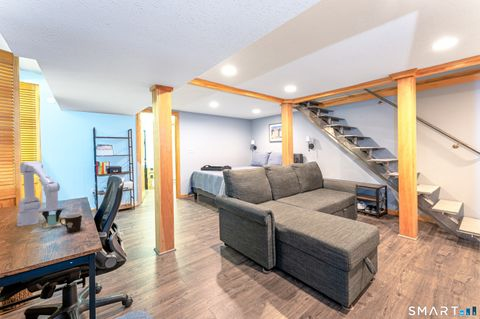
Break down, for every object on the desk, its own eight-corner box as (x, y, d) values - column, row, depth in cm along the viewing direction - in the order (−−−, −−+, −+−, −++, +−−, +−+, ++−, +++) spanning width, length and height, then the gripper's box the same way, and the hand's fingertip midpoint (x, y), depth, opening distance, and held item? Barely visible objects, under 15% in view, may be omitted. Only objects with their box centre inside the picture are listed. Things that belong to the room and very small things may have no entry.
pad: (29, 234, 125) (29, 233, 125) (34, 229, 132) (34, 228, 132) (49, 231, 129) (49, 230, 129) (53, 226, 137) (53, 226, 137)
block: (47, 225, 132) (47, 216, 132) (49, 223, 135) (49, 214, 135) (55, 224, 134) (55, 215, 134) (57, 222, 137) (57, 213, 137)
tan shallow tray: (41, 228, 134) (41, 223, 134) (46, 223, 144) (46, 218, 144) (66, 224, 141) (66, 219, 141) (69, 220, 150) (69, 215, 150)
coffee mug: (85, 229, 132) (85, 214, 132) (71, 234, 124) (70, 218, 124) (73, 227, 136) (73, 212, 135) (58, 232, 128) (58, 216, 127)
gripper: (34, 204, 127) (35, 225, 127) (64, 201, 134) (65, 221, 135) (38, 201, 133) (39, 222, 133) (67, 199, 140) (67, 218, 141)
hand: (52, 222), depth 134 cm, fingers closed on block, 4 cm apart
